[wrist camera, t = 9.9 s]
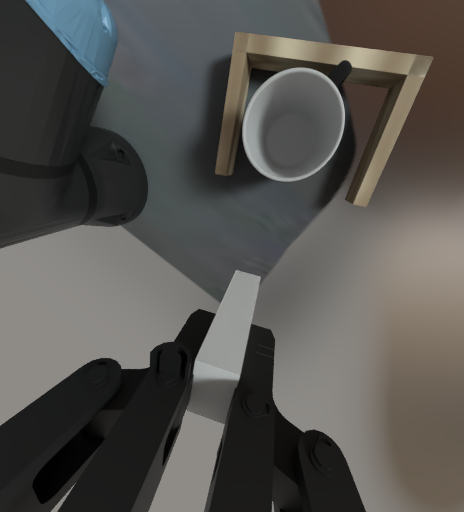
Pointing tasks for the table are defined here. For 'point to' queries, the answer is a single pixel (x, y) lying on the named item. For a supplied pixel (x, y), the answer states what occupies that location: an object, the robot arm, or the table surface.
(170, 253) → the table surface
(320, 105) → the mug
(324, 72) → the bay
